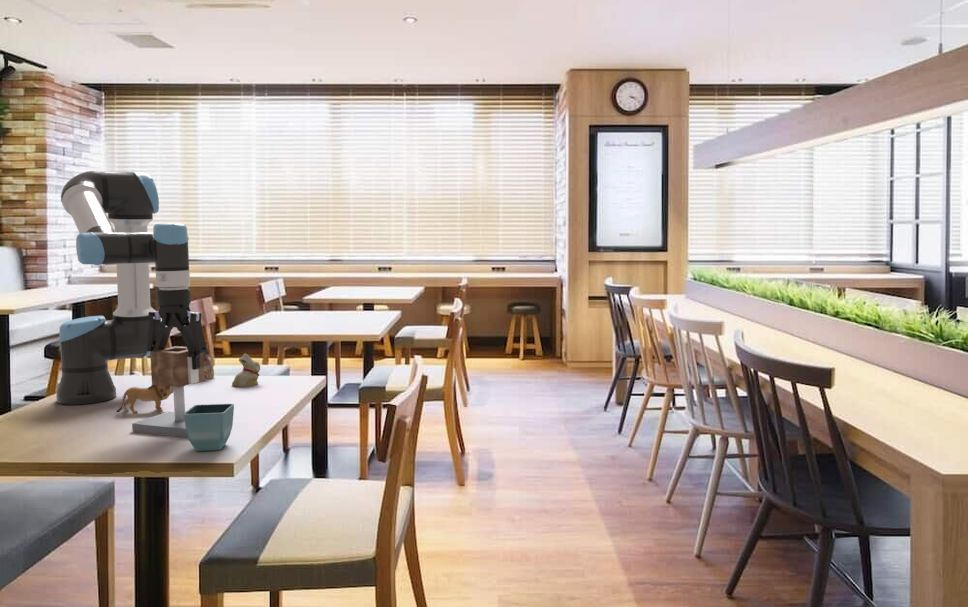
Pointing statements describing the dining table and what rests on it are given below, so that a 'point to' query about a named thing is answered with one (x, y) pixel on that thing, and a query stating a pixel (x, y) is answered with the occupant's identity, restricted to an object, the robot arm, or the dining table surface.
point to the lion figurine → (146, 396)
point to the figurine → (208, 365)
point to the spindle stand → (166, 419)
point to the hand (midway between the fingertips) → (178, 381)
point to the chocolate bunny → (247, 372)
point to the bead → (172, 367)
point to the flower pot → (209, 425)
